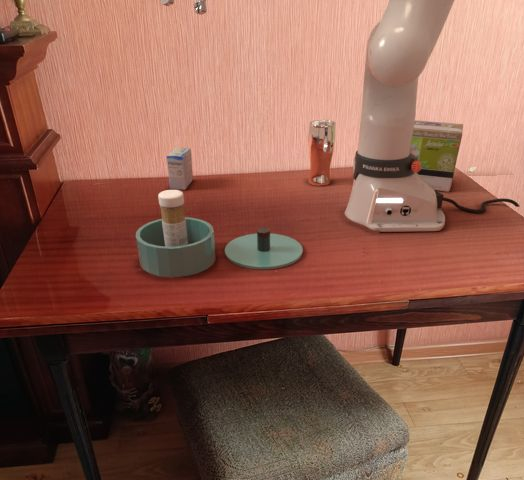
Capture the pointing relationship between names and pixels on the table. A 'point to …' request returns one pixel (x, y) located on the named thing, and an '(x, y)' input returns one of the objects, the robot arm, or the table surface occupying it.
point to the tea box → (436, 151)
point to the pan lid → (263, 250)
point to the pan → (176, 249)
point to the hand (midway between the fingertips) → (185, 9)
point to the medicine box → (180, 168)
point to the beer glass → (321, 151)
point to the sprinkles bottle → (173, 218)
